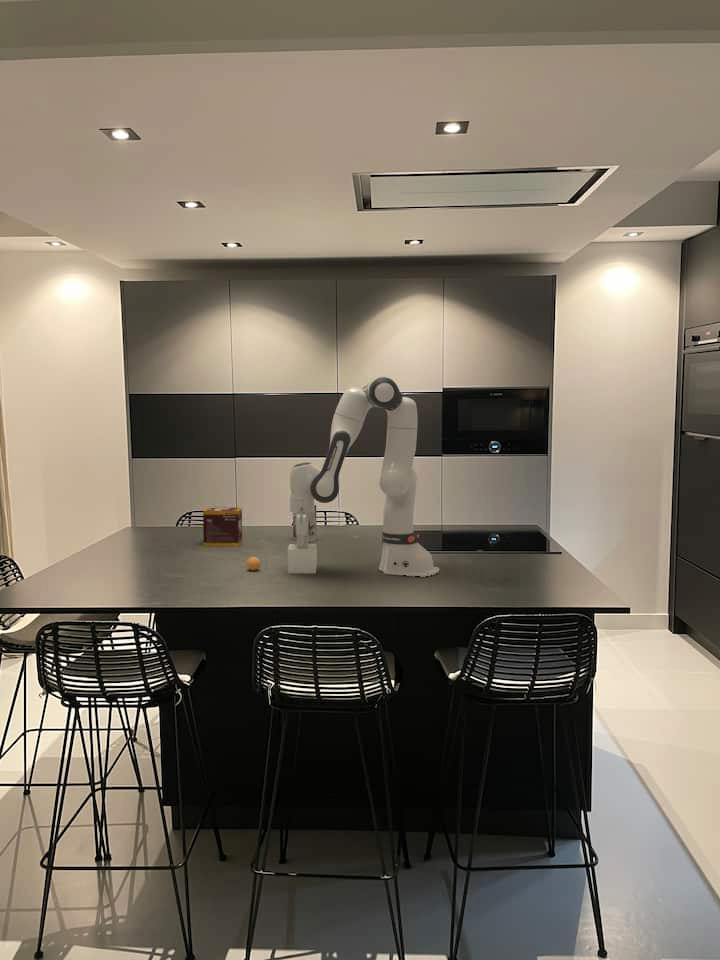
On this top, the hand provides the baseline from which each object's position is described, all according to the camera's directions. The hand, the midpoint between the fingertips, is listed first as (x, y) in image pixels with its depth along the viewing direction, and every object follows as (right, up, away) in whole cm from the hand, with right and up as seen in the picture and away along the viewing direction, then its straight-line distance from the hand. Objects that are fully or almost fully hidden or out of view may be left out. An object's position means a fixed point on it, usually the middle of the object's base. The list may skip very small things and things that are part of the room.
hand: (302, 543), depth 274 cm
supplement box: (-38, -5, +51) cm, 64 cm away
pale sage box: (0, -10, +1) cm, 10 cm away
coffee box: (-3, -4, +59) cm, 59 cm away
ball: (-18, -7, 0) cm, 19 cm away
